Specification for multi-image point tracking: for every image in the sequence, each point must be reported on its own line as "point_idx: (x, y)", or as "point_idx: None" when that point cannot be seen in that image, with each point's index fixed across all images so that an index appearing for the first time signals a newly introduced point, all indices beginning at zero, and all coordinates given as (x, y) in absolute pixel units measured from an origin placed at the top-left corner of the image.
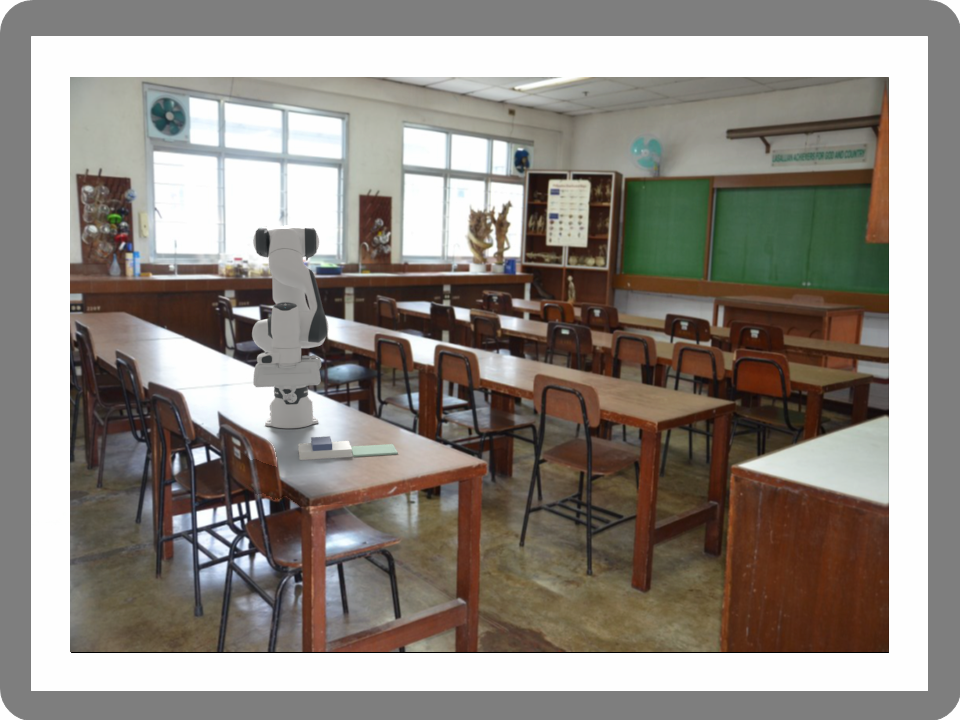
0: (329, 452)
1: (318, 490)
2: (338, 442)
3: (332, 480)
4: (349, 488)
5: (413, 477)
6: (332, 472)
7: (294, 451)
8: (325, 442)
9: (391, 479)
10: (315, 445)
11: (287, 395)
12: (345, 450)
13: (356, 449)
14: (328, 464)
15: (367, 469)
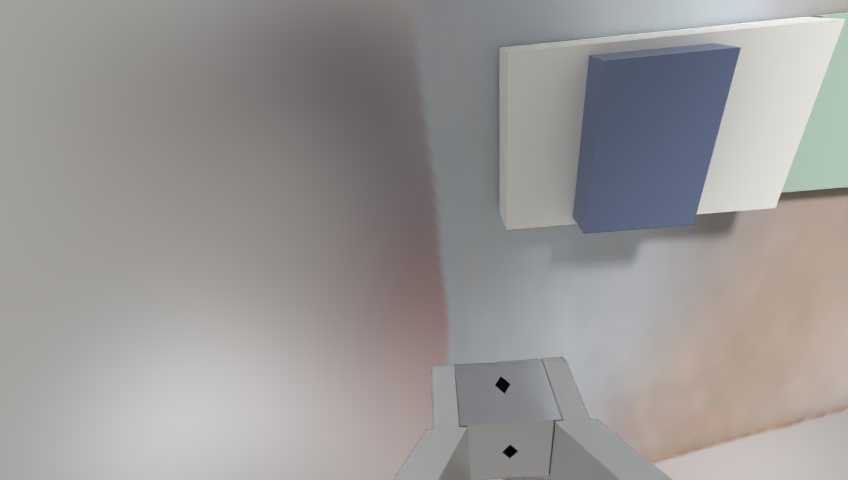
0: None
1: None
2: (763, 54)
3: (589, 411)
4: None
5: (838, 411)
6: (606, 352)
7: (475, 32)
8: (664, 197)
9: (764, 419)
10: (598, 229)
11: (504, 472)
12: (738, 208)
13: (824, 93)
14: (613, 270)
15: (737, 336)
